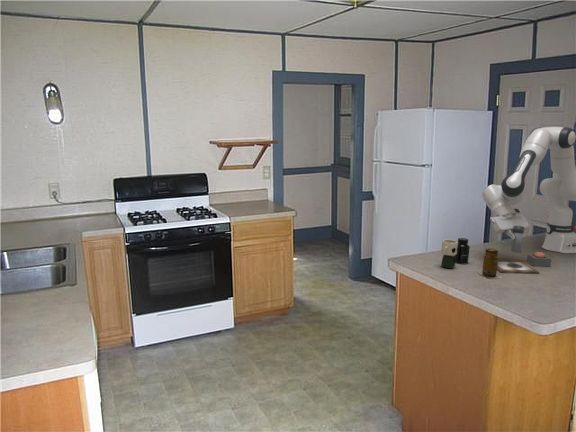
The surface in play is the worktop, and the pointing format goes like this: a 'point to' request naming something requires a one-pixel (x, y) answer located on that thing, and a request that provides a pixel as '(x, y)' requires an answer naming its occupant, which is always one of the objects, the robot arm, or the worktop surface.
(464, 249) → the supplement bottle
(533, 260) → the button box
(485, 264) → the condiment
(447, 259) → the character mug
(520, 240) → the grey cylinder
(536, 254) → the button
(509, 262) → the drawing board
